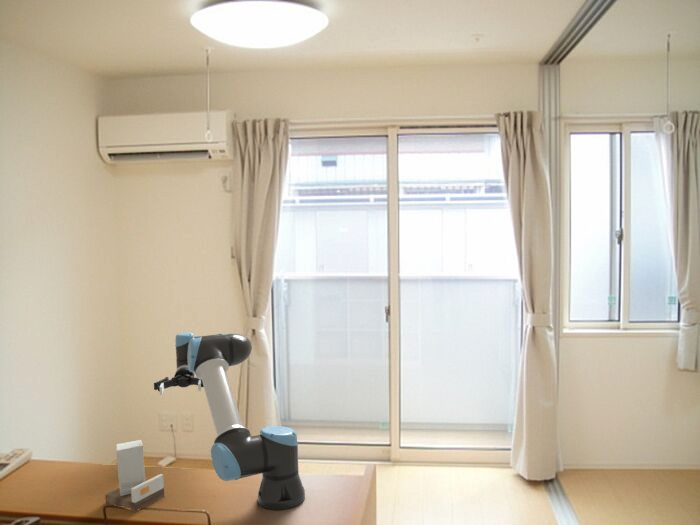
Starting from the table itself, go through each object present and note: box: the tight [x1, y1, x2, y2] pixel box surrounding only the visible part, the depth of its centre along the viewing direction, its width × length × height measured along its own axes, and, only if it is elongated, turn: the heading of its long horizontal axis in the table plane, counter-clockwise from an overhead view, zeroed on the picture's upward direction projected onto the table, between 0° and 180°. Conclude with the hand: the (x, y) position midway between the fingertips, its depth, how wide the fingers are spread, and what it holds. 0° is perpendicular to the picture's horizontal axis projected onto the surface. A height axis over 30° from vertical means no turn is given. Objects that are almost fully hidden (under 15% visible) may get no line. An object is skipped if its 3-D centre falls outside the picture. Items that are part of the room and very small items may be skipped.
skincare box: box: [115, 439, 146, 496], centre depth 193 cm, size 8×7×16 cm
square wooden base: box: [104, 473, 165, 513], centre depth 193 cm, size 14×12×7 cm
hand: (180, 389), depth 214 cm, fingers open, 13 cm apart
